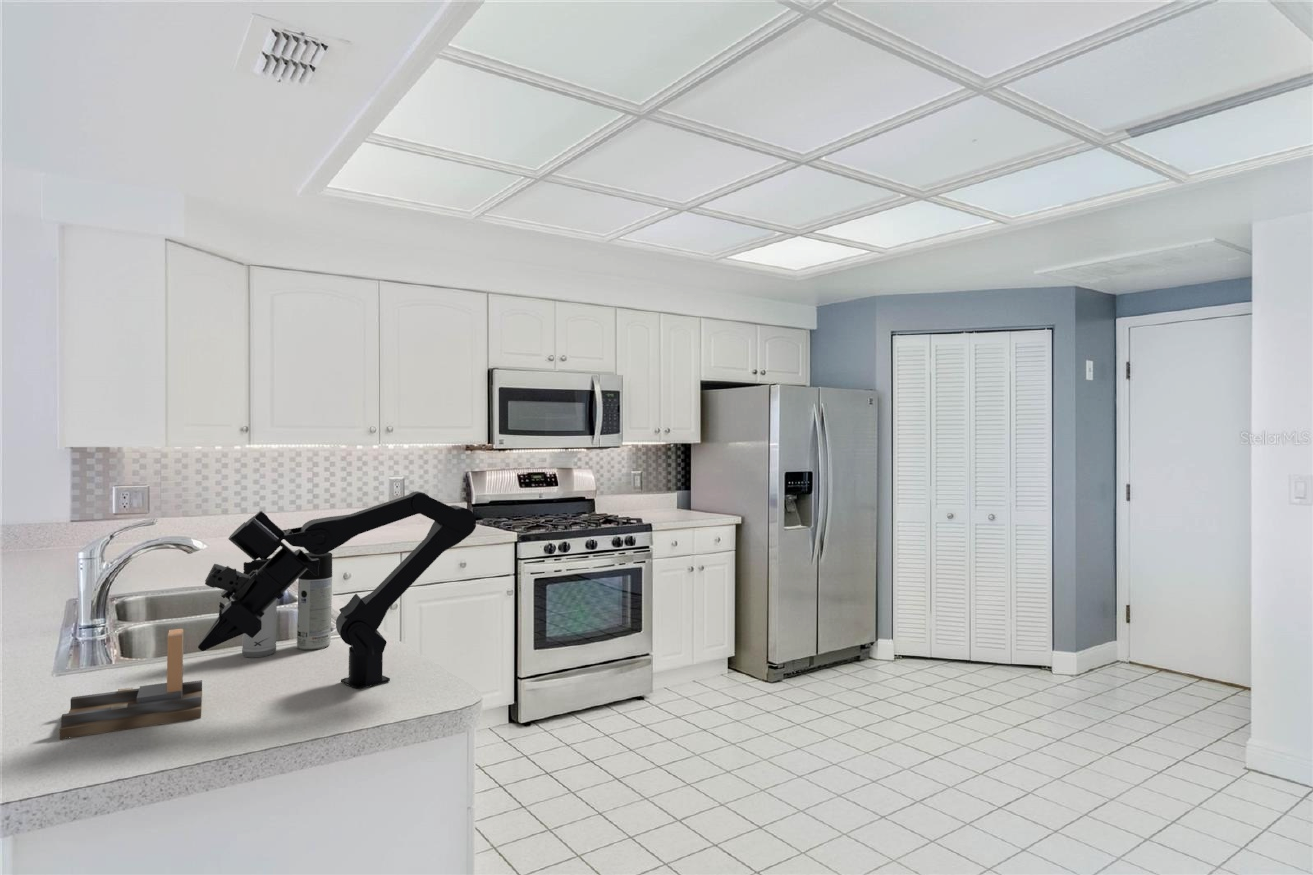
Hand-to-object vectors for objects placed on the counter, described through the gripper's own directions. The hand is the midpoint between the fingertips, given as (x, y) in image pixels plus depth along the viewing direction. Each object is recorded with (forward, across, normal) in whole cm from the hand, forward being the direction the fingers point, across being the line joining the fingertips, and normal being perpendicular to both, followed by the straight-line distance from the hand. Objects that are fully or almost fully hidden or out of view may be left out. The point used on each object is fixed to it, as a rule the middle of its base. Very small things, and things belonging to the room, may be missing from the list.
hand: (200, 649), depth 126 cm
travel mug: (0, -29, +14) cm, 33 cm away
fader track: (+13, 0, +1) cm, 13 cm away
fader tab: (+9, 0, +2) cm, 10 cm away
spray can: (-8, -30, +22) cm, 38 cm away
